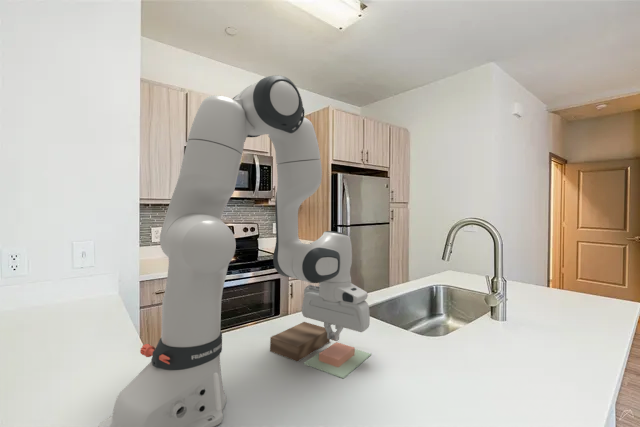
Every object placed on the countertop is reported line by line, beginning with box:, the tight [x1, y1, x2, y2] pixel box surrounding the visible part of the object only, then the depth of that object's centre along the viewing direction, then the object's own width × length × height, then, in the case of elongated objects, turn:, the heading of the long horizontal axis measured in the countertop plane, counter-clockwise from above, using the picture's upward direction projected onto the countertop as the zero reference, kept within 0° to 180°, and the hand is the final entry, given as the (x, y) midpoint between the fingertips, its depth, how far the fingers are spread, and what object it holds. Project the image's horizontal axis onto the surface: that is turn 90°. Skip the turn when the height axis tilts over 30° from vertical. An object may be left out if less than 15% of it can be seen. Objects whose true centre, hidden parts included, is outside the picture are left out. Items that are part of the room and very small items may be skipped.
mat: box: [303, 343, 372, 380], centre depth 86 cm, size 16×12×1 cm
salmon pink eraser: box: [318, 341, 356, 367], centre depth 86 cm, size 9×6×2 cm, turn 146°
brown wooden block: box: [269, 321, 331, 363], centre depth 93 cm, size 16×10×4 cm, turn 146°
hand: (333, 339), depth 87 cm, fingers closed
